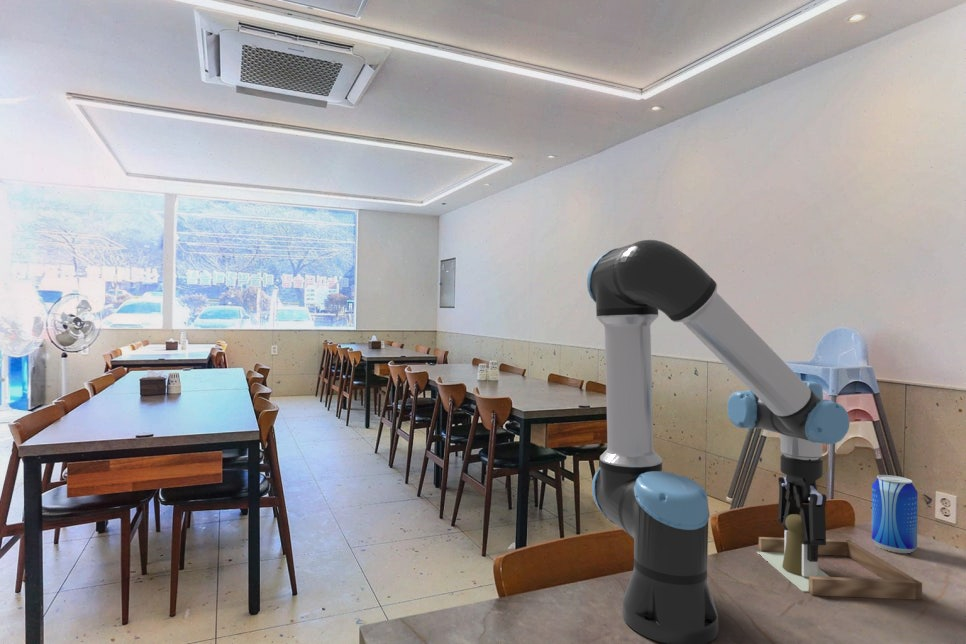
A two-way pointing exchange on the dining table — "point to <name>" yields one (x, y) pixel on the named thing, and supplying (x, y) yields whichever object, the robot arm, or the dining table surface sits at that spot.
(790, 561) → the olive chess pawn
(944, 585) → the dining table surface
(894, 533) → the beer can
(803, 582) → the front pad
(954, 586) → the dining table surface
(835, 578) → the bay
